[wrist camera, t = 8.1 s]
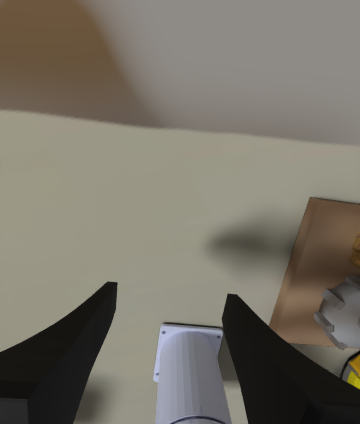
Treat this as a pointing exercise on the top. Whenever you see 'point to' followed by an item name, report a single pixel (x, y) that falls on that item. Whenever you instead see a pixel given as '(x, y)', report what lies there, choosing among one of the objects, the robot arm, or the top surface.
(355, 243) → the wooden gear
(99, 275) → the top surface
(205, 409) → the robot arm
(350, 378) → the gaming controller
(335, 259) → the gear board
